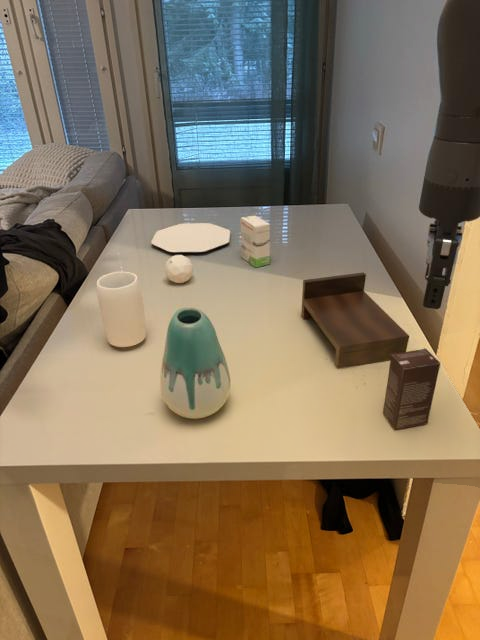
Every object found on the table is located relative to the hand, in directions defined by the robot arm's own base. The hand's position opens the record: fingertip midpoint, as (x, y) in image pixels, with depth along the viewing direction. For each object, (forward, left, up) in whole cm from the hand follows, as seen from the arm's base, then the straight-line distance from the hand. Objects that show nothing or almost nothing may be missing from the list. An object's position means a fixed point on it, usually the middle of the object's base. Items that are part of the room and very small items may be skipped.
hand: (431, 293), depth 66 cm
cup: (+44, -34, -22) cm, 60 cm away
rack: (-1, -24, -22) cm, 32 cm away
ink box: (+8, -66, -22) cm, 70 cm away
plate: (+23, -86, -22) cm, 91 cm away
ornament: (+30, -59, -22) cm, 70 cm away
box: (+1, +1, -22) cm, 22 cm away
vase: (+33, -11, -22) cm, 41 cm away
